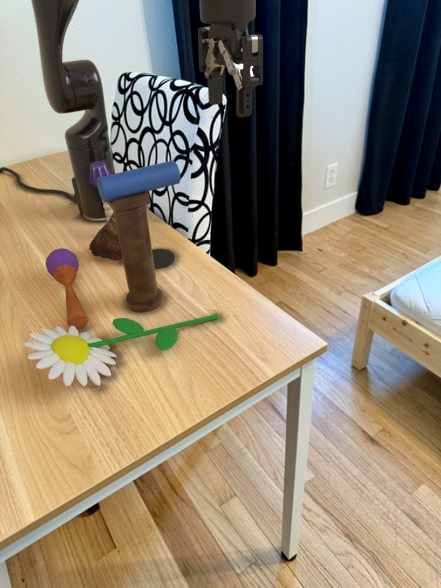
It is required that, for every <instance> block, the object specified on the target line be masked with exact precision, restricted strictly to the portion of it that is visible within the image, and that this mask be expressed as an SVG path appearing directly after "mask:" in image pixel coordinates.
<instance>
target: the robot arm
mask: <svg viewBox="0 0 441 588" xmlns="http://www.w3.org/2000/svg"><path fill="white" fill-rule="evenodd" d="M30 1H31V5H32V10H33V17H34V22H35V27H36V34H37V40H38V41H37V42H38V49H39V57H40V66H41V67H40V68H41V75H42V82H43V87H44V92H45V96H46V98H47V101H48V104H49V106H50V108H51V109H52V110H53V111H54V112H55V113H57V114H60V115H63V114H64V115H65V114H71V113H72V114H73V113H77V112H83V111H84V112H83V115H82V116H81V118H79V120H77V122H76V123H74V124H72V125H71V126H70V127H68V128H67V129H66V130H65V131H64V140H65V145H66V148H67V152H68V156H69V160H70V164H71V168H72V172H73V177H72V178H71V183H72V188H73V191H74V194H73V195H72V194H70V193H69V192H67V191H64V190H60V189H50V188H37V187H34V186H30V185H27V184H25V183H24V182H23V181H21V176H20V174H19V173H18V172H16V171H14V170H13V169H11V168H8V167H6V166H5V167H4V166H2V167H0V173H3V171H6V172H8V173H10V174H12V175H13V176H15V177H16V183H17V184H18V185H19V186H20V187H22V188H24V189H26V190H29V191H33V192H36V193H42V194H43V193H44V194H59V195H63V196H65V197H67V198H68V199H69V200H71V201H72V202H74V203H76V204H77V208H78V212H79V216H80V217H83V218H84V220H86V221H89V222H95V223H98V222H107V219H106V217H107V216H106V215H105V209H104V207H103V204H104V203H103V202H102V199H101V196H100V194H99V191H98V187H95V186H92V185H91V184H90V165H91V164H92V163H93V162H97V161H102V162H104V163H105V164H106V166H107V168H108V170H109V172H110V174H116V170H115V168H116V167H115V164H114V159H113V153H112V147H111V142H110V136H109V126H108V125H109V123H108V117H107V111H106V102H105V95H104V94H105V93H104V88H103V87H104V86H103V83H102V78H101V75H100V72H99V69H98V68H97V66H96V64H95V62H93V61H92V60H90V59H76V60H69V61H68V60H67V61H63V50H64V41H65V36H66V34H67V31H68V28H69V27H70V23H71V21H72V19H73V16H74V14H75V12H76V11H77V10H76V9H77V7H78V4H79V2H80V0H30ZM256 1H257V0H199V17H200V21H201V22H202V23H203V24H208V25H209V26H203V27H198V29H197V38H198V41H197V42H198V69H199V72H200V73H204V77H205V79H207V94H208V95H207V96H208V104H210V105H212V106H215V105H220V104H222V103H223V100H224V99H223V98H224V97H223V95H224V93H223V92H224V91H223V77H222V76H223V73H224V71H225V68H227V72H228V74H229V75H230V76H232V77H233V80H234V83H235V86H236V90H235V92H236V93H235V97H236V98H235V99H236V100H235V102H236V103H235V104H236V105H235V107H236V109H235V113H236V116H237V117H238V118H247V117H250V116H251V115H252V113H253V89H254V88H255V87H257V86H262V85H263V83H264V37H263V35H262V34H249V28H248V25H249V23H251V22H253V21H255V19H256V12H257V11H256V7H257V6H256V5H257V4H256V3H257V2H256ZM253 68H254V71H255V72H254V73H253ZM112 210H113V209H112Z"/></svg>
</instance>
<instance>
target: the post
mask: <svg viewBox="0 0 441 588" xmlns="http://www.w3.org/2000/svg"><path fill="white" fill-rule="evenodd" d="M107 204H108V205H109V206H110V207H111V208H112V209H113V213H114V218H115V223H116V228H117V233H118V238H119V244H120V249H121V254H122V259H123V260H122V264H123V269H124V274H125V278H126V284H127V288H128V293H127V294H126V296H125V299H126V305H127V307H128V308H129V310H131V311H133V312H136V313H149V312H152V311H155V310H156V309H158V308H160V307H161V305H162V304H163V302H164V295H163V291H162V289H160V288H159V287H158V281H157V275H156V274H157V273H156V269H155V267H154V260H153V253H152V250H153V247H152V246H153V245H152V241H151V233H150V227H149V220H148V213H147V206H148V205H151V200H150V193H149V191H148V192H147V191H146V192H143V193H139V194H135V195H131V196H127V197H123V198H119V199H115V200H112V201H109V202H107Z"/></svg>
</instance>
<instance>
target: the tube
mask: <svg viewBox="0 0 441 588" xmlns="http://www.w3.org/2000/svg"><path fill="white" fill-rule="evenodd" d="M180 183H181V171H180V168H179V166H178V163H177V162H176V161H175V160H169V161H164V162H159V163H157V164H156V163H155V164H150V165H147V166H142V167H138V168H137V167H136V168H134V169H129V170H124V171H120V172H115V174H111V175H107V176H103V177H98V178H97V187H98V191H99V194H100V196H101V199H102V200H103V202H109V201H112V200H115V199H119V198H123V197H127V196H131V195H135V194H139V193H143V192H146V191H147V192H148V193H149V192H151V191H155V190H159V189H160V190H161V189H163V188H167V187H171V186H175V185H178V184H179V185H180Z"/></svg>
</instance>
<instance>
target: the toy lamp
mask: <svg viewBox="0 0 441 588" xmlns="http://www.w3.org/2000/svg"><path fill="white" fill-rule="evenodd" d="M107 175H111V174H110V172H109V170H108V168H107V166H106V164H105V163H104V162H102V161H97V162H93V163H92V164H91V165H90V184H91V185H92V186H95V187H97V178H98V177H103V176H107ZM102 202H103V200H102ZM103 203H104V204H103V207H104V209H105V215H106V216H107V217H106V219H107V221H106V223H107V222H108V221H109V219H110V218H111V216H112V214H113V210H112V208H111V207H110V206H109V205H108V204H107V202H103Z"/></svg>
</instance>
